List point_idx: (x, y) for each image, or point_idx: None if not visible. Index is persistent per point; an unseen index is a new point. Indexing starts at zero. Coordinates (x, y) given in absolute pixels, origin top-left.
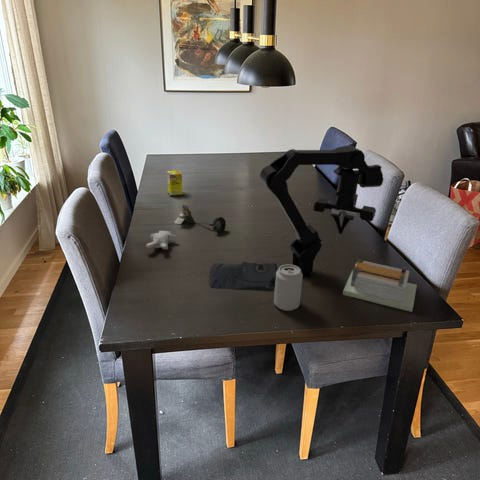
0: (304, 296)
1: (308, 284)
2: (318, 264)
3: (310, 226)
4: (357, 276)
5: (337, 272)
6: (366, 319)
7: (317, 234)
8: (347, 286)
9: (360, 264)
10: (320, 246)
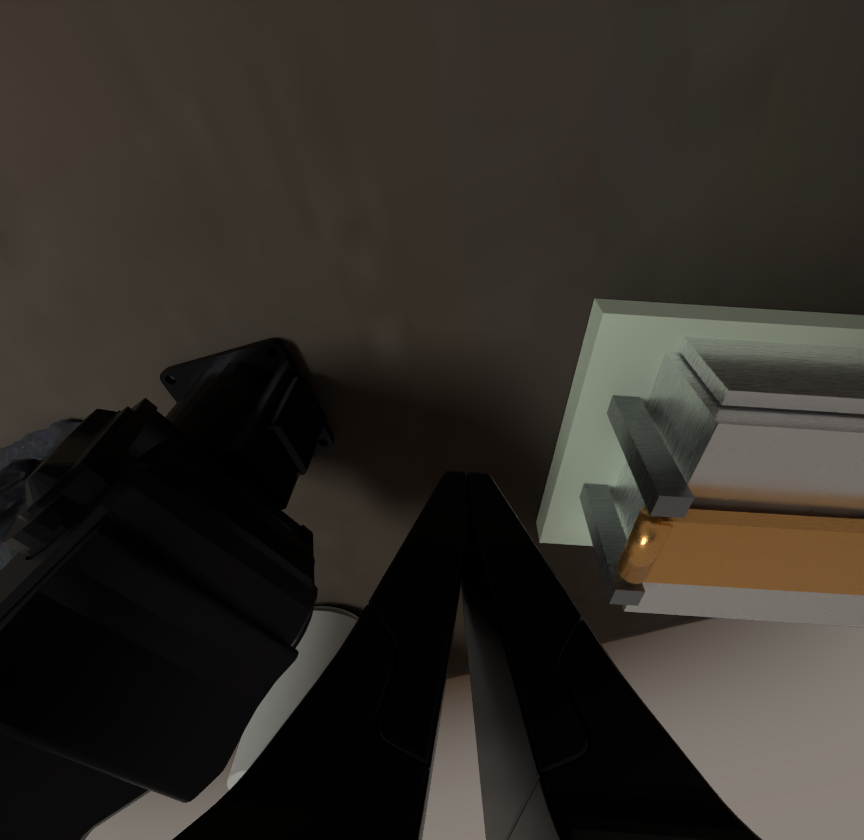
0: (369, 575)
1: (350, 498)
2: (315, 249)
3: (29, 738)
4: (628, 611)
5: (483, 315)
6: (634, 621)
7: (225, 756)
8: (561, 509)
9: (672, 547)
10: (309, 603)
